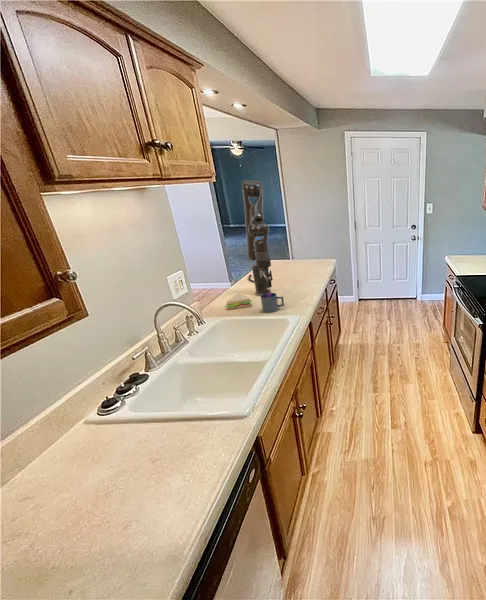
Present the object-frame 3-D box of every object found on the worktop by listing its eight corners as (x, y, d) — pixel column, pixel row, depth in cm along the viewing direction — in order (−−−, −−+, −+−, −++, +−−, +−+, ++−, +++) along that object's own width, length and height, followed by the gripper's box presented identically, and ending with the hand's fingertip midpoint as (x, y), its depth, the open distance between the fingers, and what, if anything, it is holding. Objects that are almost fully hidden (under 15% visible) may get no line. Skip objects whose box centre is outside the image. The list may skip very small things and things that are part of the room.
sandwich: (256, 297, 220) (255, 290, 218) (251, 308, 202) (250, 300, 200) (231, 299, 216) (230, 292, 215) (224, 310, 199) (222, 302, 197)
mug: (261, 313, 194) (259, 298, 191) (264, 307, 203) (262, 293, 199) (283, 311, 197) (281, 296, 193) (285, 306, 205) (283, 292, 202)
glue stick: (267, 308, 199) (265, 293, 197) (272, 308, 201) (270, 293, 199) (269, 309, 197) (267, 294, 195) (274, 308, 199) (272, 293, 196)
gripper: (274, 259, 186) (278, 287, 191) (265, 255, 196) (268, 281, 201) (260, 261, 181) (265, 289, 187) (252, 257, 191) (256, 284, 197)
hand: (267, 285), depth 194 cm, fingers open, 8 cm apart
